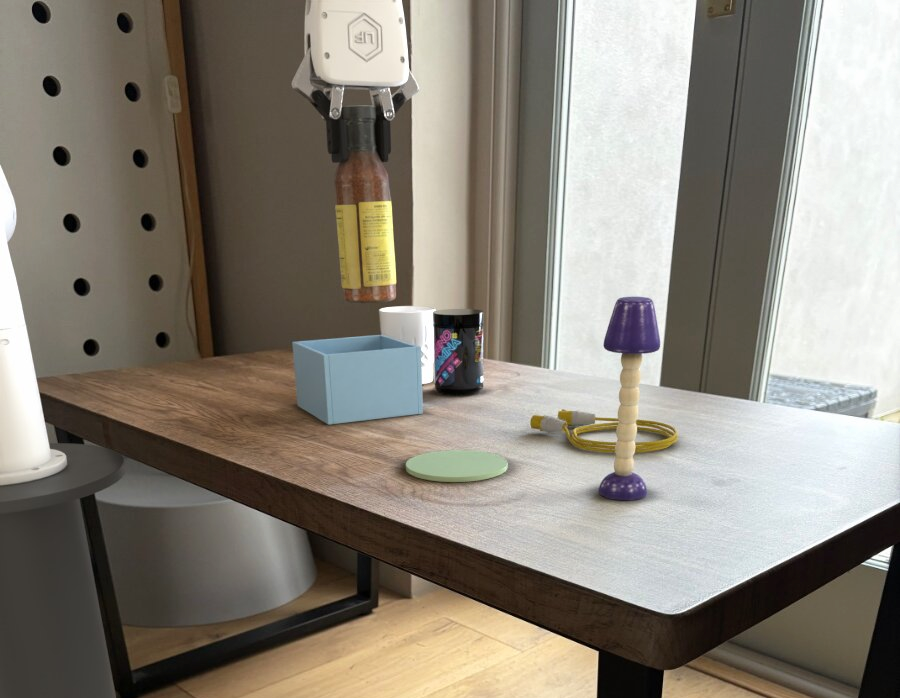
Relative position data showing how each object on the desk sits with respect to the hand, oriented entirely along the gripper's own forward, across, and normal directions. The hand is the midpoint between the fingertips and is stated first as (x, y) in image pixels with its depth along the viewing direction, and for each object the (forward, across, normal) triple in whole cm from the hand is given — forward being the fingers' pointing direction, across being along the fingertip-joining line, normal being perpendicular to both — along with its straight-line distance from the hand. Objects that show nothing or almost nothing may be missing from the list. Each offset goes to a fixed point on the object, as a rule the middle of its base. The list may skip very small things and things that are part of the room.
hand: (360, 160), depth 100 cm
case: (+28, 0, +6) cm, 29 cm away
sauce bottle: (+15, 0, 0) cm, 15 cm away
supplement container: (+28, +17, +9) cm, 34 cm away
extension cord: (+28, +19, -22) cm, 40 cm away
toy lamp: (+28, +8, -40) cm, 49 cm away
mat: (+28, -1, -24) cm, 37 cm away
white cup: (+28, +14, +19) cm, 37 cm away
